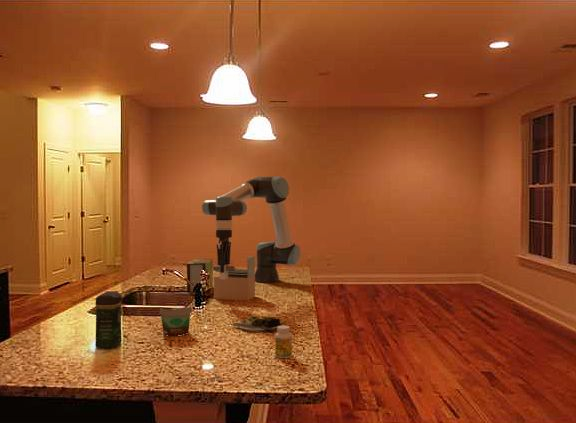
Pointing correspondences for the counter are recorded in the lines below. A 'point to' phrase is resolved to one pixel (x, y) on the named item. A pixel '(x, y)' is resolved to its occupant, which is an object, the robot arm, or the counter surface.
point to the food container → (175, 321)
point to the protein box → (198, 272)
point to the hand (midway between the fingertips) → (224, 278)
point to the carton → (237, 284)
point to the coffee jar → (108, 320)
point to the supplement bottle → (283, 342)
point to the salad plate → (260, 324)
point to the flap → (230, 270)
